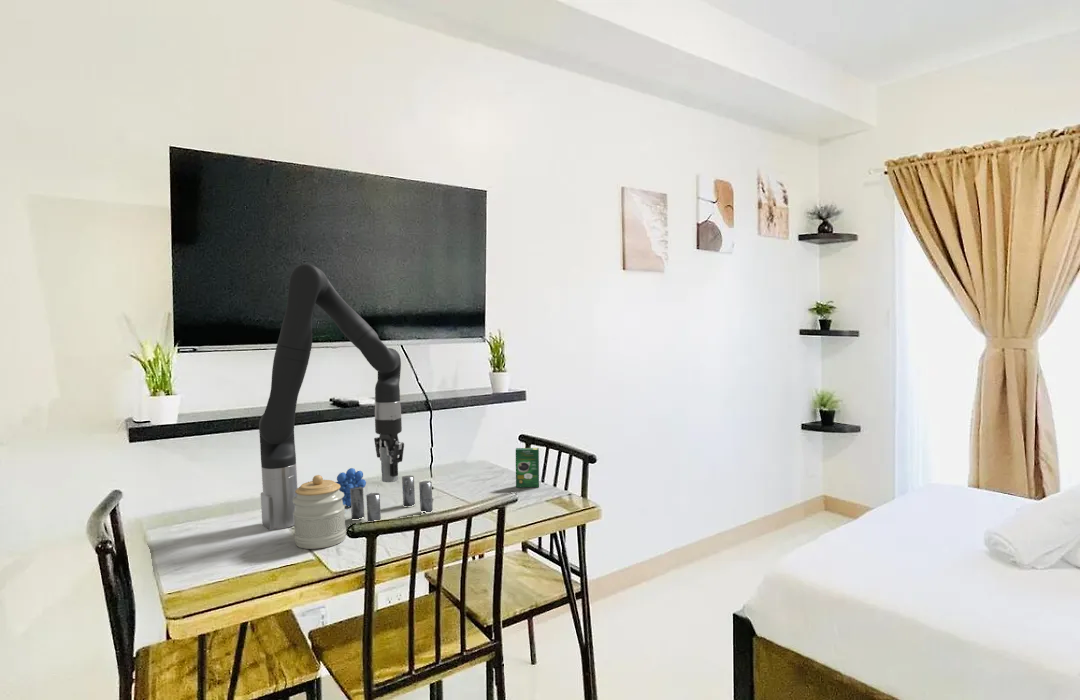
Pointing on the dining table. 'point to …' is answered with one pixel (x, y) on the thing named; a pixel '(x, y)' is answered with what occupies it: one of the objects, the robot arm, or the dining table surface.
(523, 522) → the dining table surface
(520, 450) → the coffee box
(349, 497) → the grapes
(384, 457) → the hollow grey tube
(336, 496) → the jar
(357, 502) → the spacer posts
